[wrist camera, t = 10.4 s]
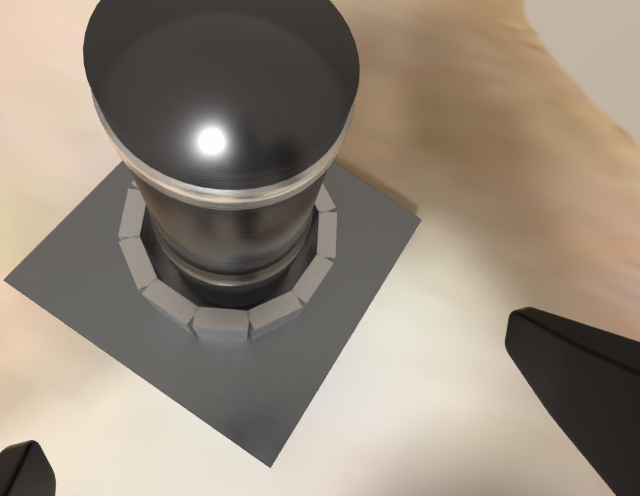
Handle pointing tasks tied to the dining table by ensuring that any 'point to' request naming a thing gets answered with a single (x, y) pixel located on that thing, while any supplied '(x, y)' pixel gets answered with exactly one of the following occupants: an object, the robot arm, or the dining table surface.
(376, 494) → the dining table surface
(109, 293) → the lens mount
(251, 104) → the lens
